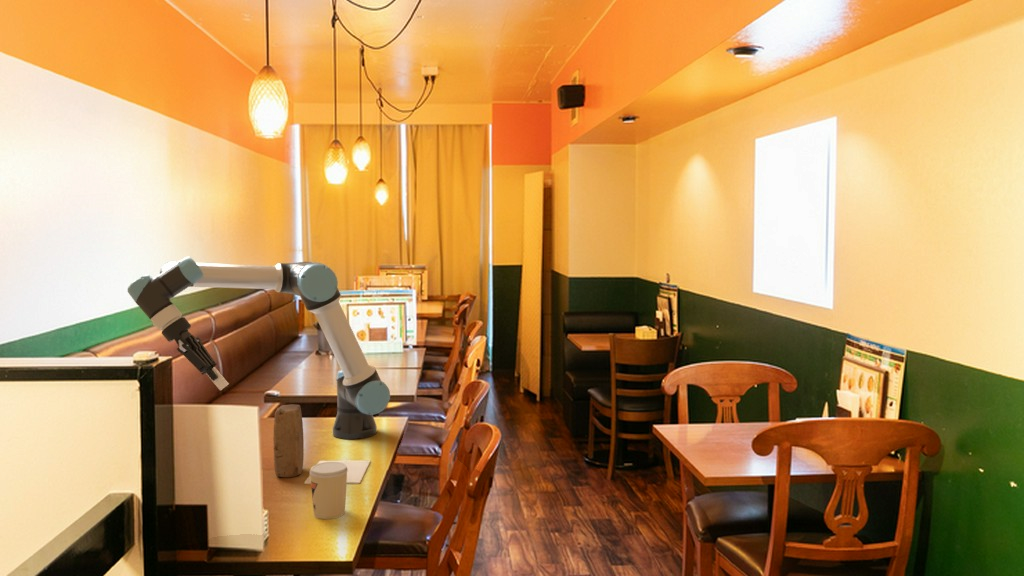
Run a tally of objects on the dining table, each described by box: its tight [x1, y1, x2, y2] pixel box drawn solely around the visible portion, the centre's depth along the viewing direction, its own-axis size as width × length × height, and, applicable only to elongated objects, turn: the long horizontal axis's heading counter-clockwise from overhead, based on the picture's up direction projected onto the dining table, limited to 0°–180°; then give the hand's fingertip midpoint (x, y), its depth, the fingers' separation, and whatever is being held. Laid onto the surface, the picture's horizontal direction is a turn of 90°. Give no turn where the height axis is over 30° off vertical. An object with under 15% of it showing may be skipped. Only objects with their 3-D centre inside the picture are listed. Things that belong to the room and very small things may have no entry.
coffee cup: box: [309, 462, 348, 520], centre depth 193 cm, size 9×9×12 cm
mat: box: [303, 459, 371, 485], centre depth 225 cm, size 20×16×1 cm
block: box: [273, 403, 305, 478], centre depth 224 cm, size 11×8×20 cm
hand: (224, 387), depth 222 cm, fingers closed
